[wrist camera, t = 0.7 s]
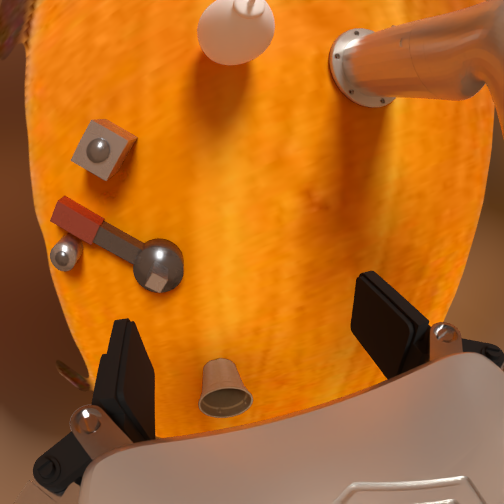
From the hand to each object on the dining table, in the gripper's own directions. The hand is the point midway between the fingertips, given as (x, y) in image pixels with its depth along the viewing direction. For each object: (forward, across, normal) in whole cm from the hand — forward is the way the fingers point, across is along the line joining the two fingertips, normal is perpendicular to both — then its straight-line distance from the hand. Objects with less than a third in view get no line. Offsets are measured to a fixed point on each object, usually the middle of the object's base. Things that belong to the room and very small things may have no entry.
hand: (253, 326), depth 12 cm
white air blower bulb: (+30, -5, -18) cm, 35 cm away
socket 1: (+31, +21, +6) cm, 38 cm away
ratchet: (+30, +13, +6) cm, 34 cm away
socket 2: (+30, +11, -7) cm, 33 cm away
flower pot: (+31, +2, +35) cm, 47 cm away
